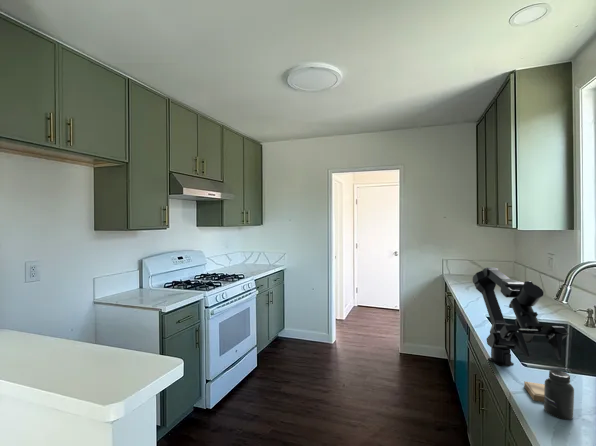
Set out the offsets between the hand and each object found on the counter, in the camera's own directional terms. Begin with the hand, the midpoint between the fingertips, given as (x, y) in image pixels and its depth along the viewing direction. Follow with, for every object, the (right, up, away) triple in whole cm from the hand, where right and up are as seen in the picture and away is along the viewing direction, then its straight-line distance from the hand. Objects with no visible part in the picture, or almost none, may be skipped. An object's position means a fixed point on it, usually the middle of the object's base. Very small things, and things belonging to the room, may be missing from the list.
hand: (543, 358), depth 102 cm
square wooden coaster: (+2, -13, +2) cm, 14 cm away
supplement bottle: (-1, -14, -7) cm, 15 cm away
